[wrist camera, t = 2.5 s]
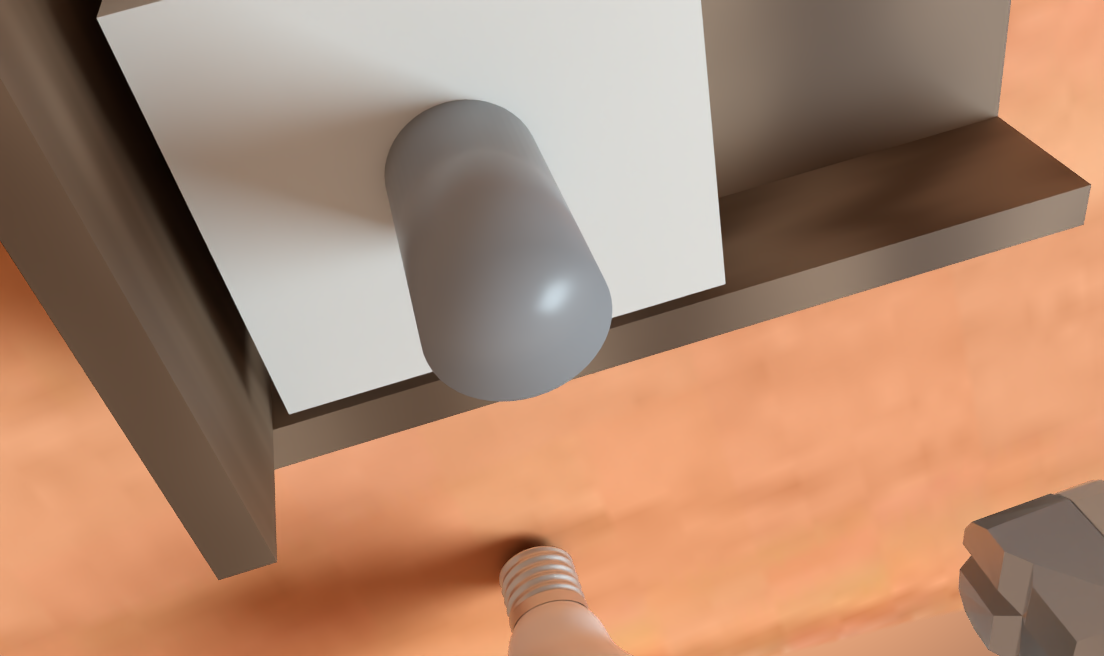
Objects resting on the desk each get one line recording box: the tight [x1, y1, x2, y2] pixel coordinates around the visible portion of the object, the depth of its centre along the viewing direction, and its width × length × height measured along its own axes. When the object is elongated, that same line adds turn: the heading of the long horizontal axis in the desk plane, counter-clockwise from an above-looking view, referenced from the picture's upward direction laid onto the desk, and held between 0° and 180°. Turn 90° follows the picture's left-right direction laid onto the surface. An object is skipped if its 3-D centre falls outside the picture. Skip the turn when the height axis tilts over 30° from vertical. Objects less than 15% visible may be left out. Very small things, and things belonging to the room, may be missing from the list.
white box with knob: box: [96, 0, 726, 414], centre depth 19 cm, size 10×9×10 cm
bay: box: [0, 0, 1091, 580], centre depth 21 cm, size 22×14×9 cm, turn 100°
